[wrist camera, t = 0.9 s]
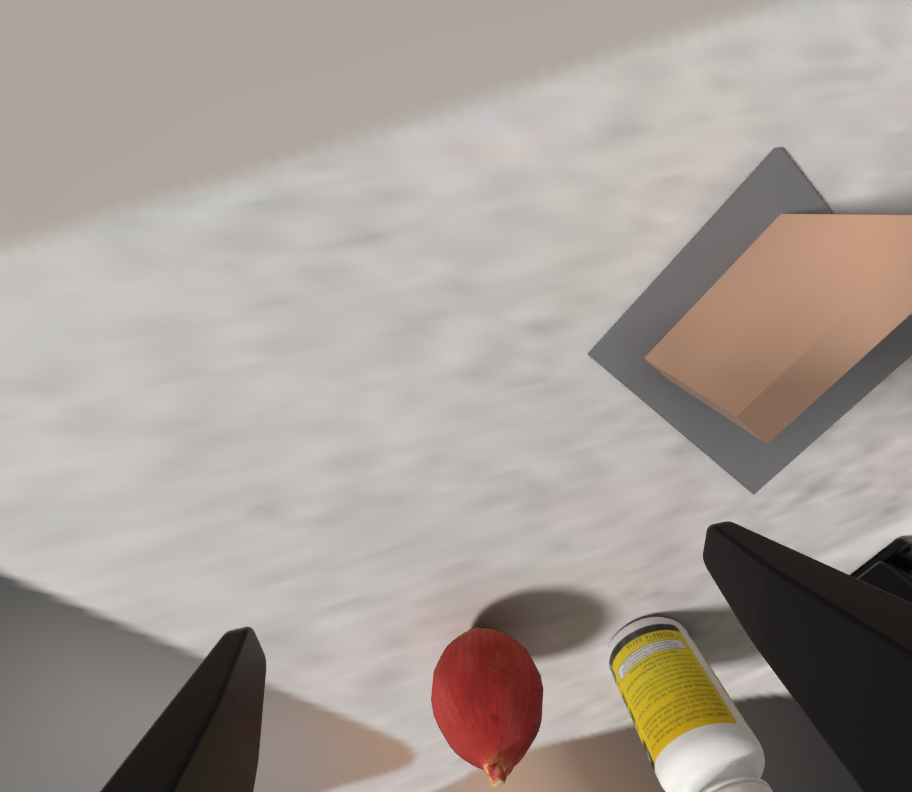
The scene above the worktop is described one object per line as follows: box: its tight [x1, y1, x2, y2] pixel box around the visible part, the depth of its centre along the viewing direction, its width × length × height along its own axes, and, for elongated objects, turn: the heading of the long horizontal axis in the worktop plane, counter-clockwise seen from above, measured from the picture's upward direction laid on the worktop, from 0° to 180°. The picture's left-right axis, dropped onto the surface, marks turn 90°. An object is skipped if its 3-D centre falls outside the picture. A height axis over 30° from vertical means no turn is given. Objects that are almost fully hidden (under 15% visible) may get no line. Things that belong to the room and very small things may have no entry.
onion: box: [431, 627, 543, 787], centre depth 24 cm, size 6×6×8 cm
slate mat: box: [588, 147, 912, 494], centre depth 22 cm, size 13×11×1 cm
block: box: [645, 214, 912, 444], centre depth 18 cm, size 2×8×6 cm, turn 141°
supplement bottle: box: [607, 617, 773, 792], centre depth 25 cm, size 5×5×10 cm
